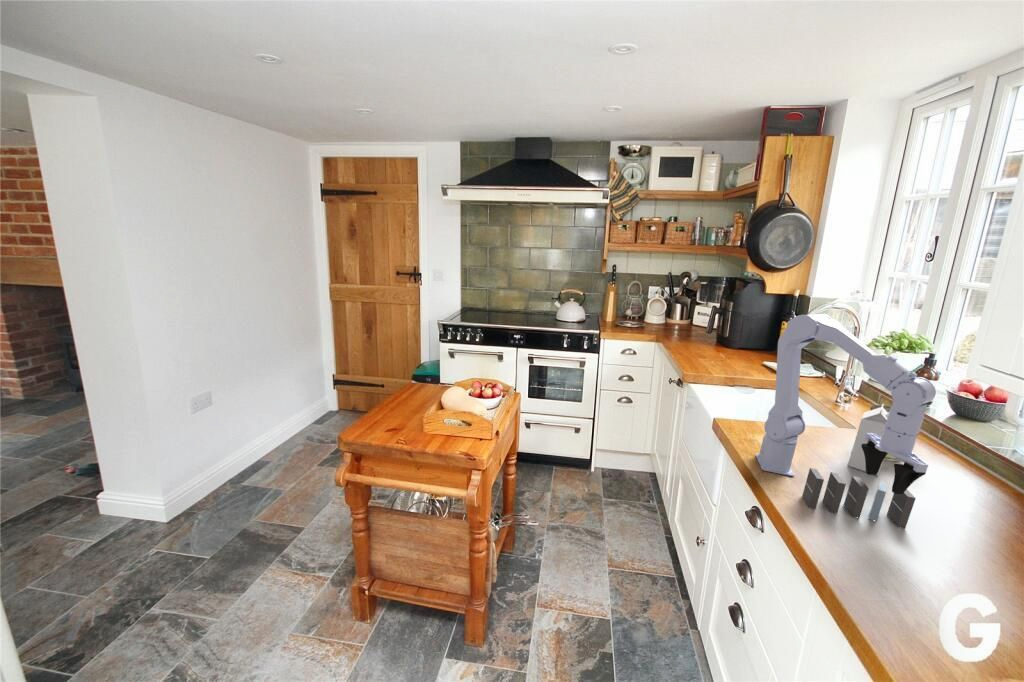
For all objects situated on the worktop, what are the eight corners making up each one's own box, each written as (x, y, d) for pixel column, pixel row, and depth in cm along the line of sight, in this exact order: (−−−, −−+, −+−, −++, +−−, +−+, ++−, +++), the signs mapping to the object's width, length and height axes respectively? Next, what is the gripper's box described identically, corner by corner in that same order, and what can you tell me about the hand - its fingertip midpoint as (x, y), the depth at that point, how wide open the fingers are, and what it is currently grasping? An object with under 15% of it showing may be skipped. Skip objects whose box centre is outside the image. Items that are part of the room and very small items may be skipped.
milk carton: (847, 466, 128) (865, 405, 123) (850, 458, 133) (867, 399, 128) (878, 476, 124) (898, 414, 119) (880, 467, 129) (899, 407, 124)
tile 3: (851, 516, 104) (861, 487, 102) (843, 504, 109) (852, 476, 107) (859, 518, 104) (868, 488, 101) (850, 506, 108) (859, 477, 106)
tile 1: (808, 507, 106) (816, 478, 104) (802, 496, 111) (809, 467, 109) (815, 509, 106) (824, 479, 104) (809, 497, 111) (817, 469, 109)
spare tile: (868, 519, 104) (877, 489, 102) (870, 510, 107) (879, 481, 105) (876, 522, 103) (886, 492, 101) (878, 513, 106) (888, 484, 104)
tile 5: (897, 526, 101) (907, 496, 99) (886, 514, 106) (896, 484, 104) (905, 528, 101) (915, 498, 99) (894, 515, 106) (904, 486, 104)
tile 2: (829, 512, 105) (838, 482, 103) (822, 500, 110) (830, 471, 108) (837, 513, 105) (846, 484, 103) (829, 501, 109) (837, 473, 107)
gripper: (859, 415, 106) (844, 465, 110) (911, 444, 92) (892, 501, 96) (888, 417, 106) (872, 467, 110) (945, 446, 92) (924, 503, 96)
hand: (883, 483), depth 103 cm, fingers open, 7 cm apart
